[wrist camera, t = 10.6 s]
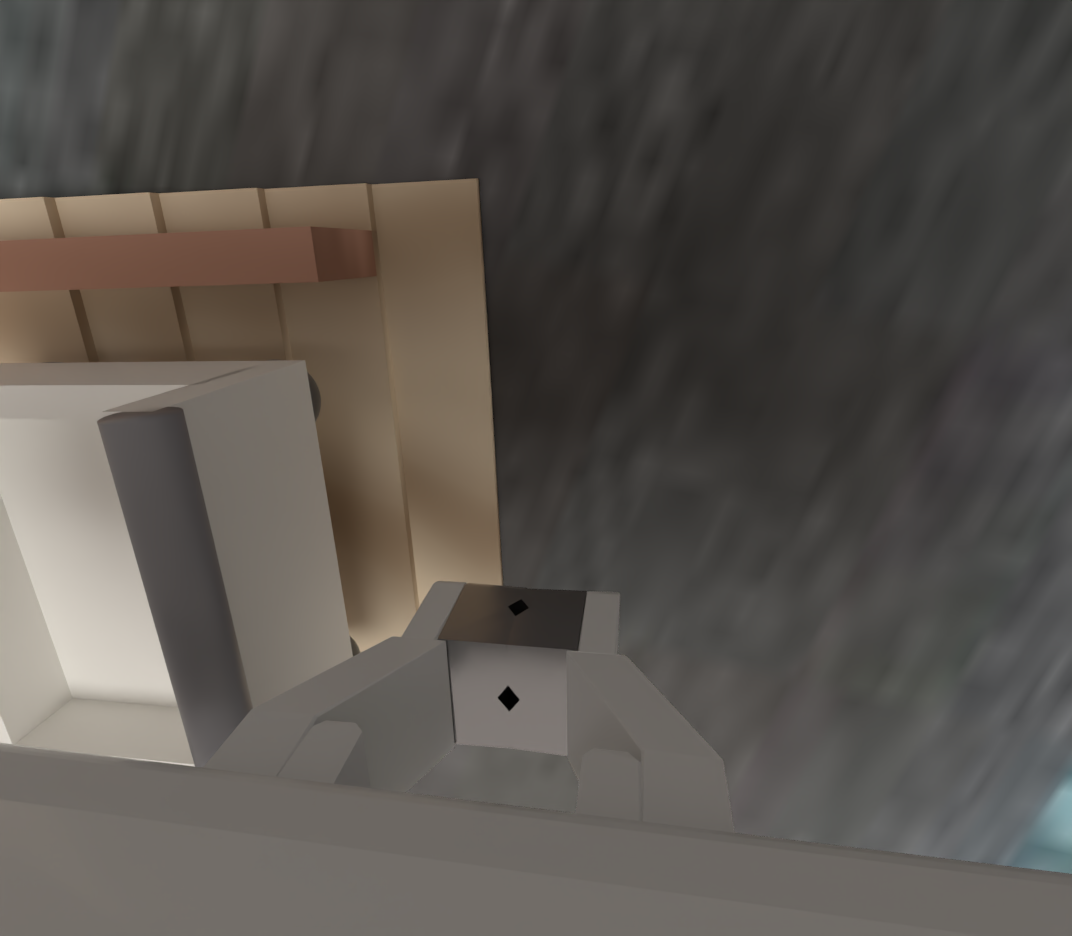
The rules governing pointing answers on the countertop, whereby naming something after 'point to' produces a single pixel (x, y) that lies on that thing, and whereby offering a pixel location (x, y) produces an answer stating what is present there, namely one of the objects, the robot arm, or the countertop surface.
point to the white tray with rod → (160, 553)
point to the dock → (300, 345)
